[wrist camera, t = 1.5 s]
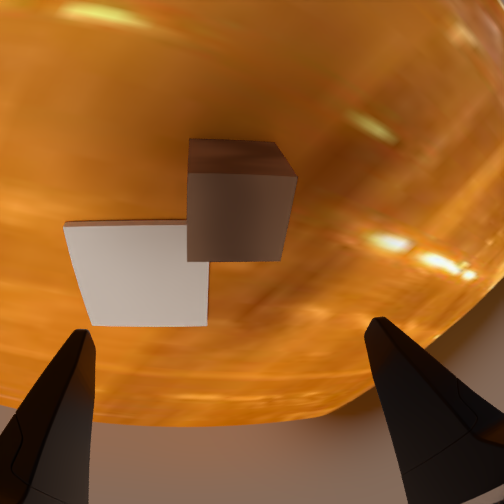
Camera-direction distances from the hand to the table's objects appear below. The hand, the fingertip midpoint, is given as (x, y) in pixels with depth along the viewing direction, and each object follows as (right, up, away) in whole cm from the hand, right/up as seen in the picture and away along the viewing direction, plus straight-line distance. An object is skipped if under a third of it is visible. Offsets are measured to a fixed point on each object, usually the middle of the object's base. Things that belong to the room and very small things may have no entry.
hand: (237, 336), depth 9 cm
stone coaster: (-8, +1, +14) cm, 16 cm away
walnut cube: (-1, +7, +10) cm, 12 cm away
